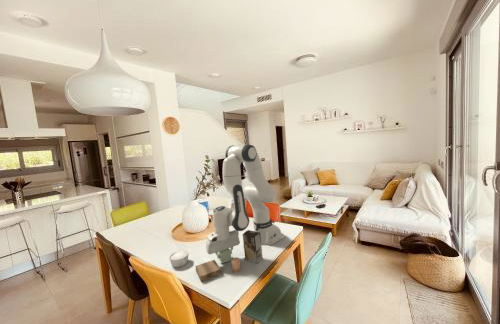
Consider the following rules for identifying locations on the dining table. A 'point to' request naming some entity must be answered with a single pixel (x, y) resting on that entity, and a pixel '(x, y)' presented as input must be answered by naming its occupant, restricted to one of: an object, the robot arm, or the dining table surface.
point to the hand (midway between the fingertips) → (224, 255)
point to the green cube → (225, 255)
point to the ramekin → (179, 258)
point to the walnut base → (208, 270)
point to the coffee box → (252, 246)
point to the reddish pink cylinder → (236, 265)
